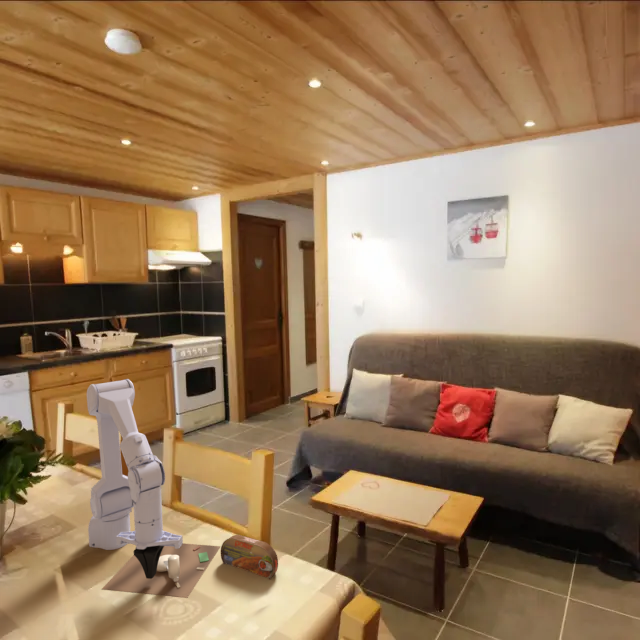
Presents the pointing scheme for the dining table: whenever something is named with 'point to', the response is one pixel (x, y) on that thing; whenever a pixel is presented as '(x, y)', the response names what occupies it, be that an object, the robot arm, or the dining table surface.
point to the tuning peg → (169, 566)
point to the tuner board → (165, 572)
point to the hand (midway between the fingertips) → (151, 575)
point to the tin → (250, 555)
